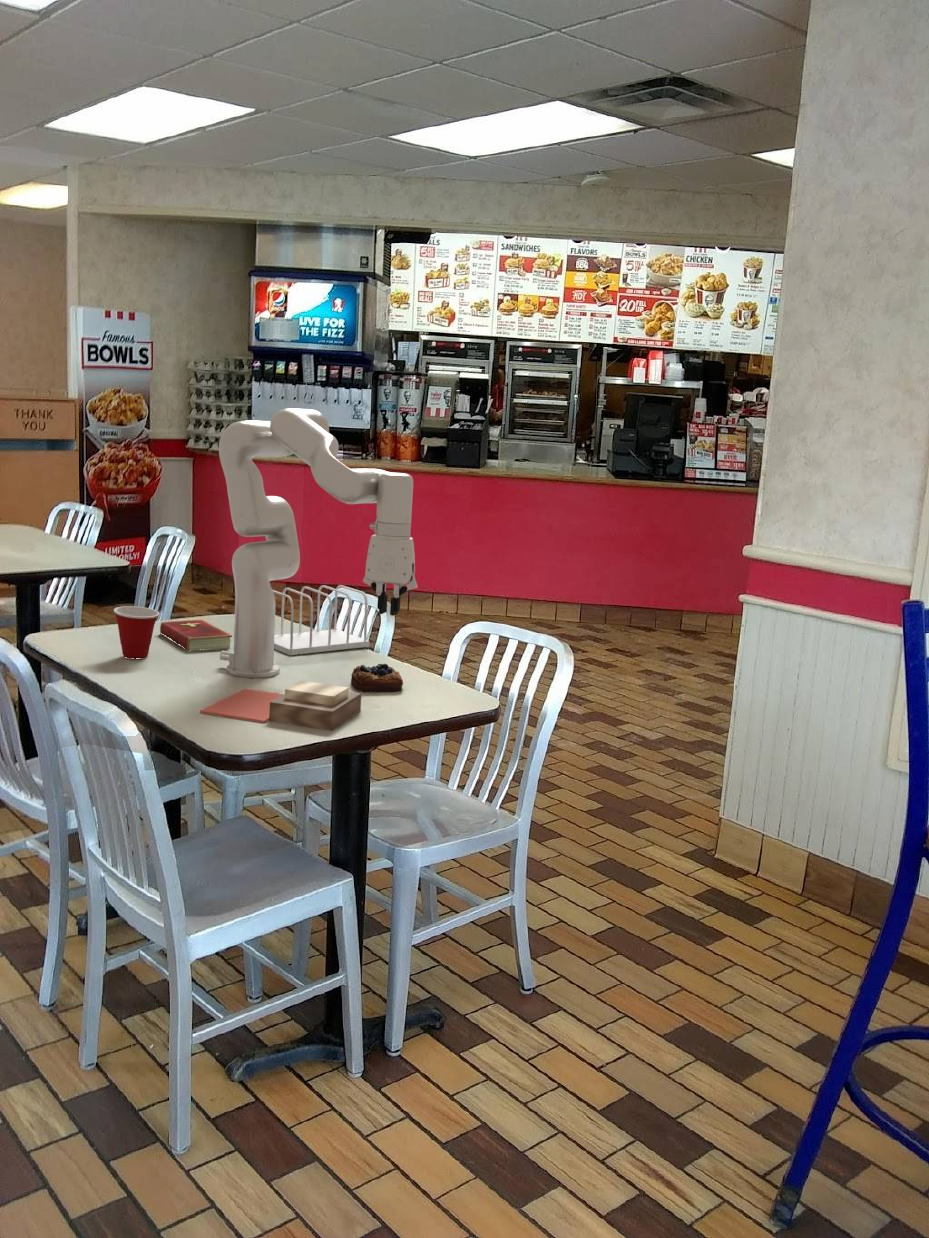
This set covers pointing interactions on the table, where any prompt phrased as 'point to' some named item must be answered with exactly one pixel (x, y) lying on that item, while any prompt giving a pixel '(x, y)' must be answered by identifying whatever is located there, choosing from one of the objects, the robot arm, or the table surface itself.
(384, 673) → the pastry
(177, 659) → the table surface
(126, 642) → the plastic cup
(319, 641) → the file sorter
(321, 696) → the light wooden block
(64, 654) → the table surface
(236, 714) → the mat
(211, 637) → the hardcover book
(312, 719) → the square wooden slab
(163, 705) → the table surface
